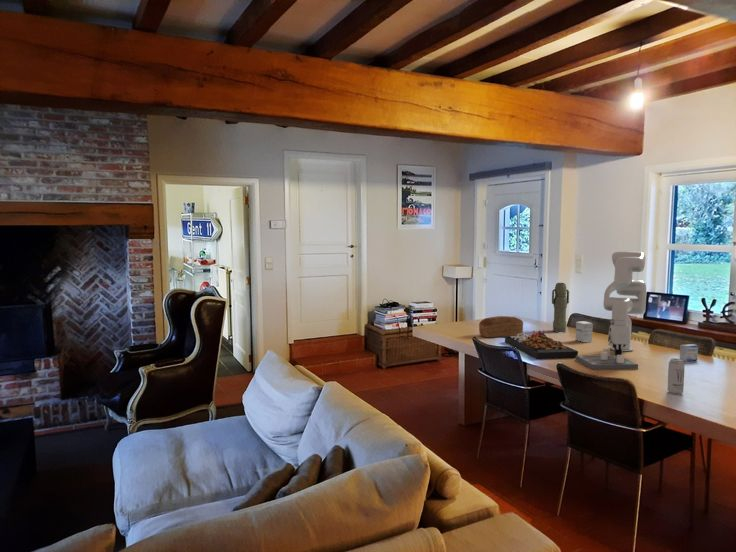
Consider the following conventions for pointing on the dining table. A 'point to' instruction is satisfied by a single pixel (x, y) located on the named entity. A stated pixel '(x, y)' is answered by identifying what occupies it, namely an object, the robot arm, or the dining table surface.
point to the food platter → (540, 346)
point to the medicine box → (688, 352)
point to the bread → (500, 326)
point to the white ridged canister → (584, 331)
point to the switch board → (605, 362)
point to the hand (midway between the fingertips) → (618, 356)
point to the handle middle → (604, 355)
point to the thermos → (560, 307)
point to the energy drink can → (676, 376)
